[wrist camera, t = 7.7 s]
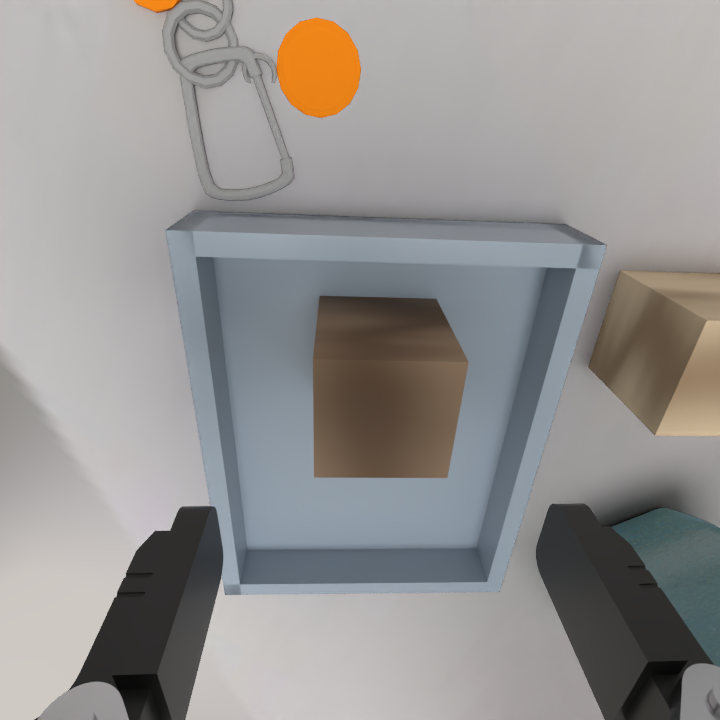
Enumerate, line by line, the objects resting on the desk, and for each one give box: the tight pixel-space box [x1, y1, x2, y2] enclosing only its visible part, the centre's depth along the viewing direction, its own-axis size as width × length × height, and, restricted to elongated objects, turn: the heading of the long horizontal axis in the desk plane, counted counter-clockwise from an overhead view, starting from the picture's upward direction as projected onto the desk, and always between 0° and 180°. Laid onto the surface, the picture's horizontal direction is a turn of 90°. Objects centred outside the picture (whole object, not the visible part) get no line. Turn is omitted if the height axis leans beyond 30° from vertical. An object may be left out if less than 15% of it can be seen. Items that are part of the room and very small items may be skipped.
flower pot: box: [611, 508, 720, 667], centre depth 23 cm, size 9×9×9 cm
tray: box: [166, 211, 607, 595], centre depth 20 cm, size 18×14×3 cm
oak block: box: [588, 271, 720, 436], centre depth 17 cm, size 4×4×5 cm
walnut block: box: [313, 296, 469, 478], centre depth 16 cm, size 4×4×5 cm
